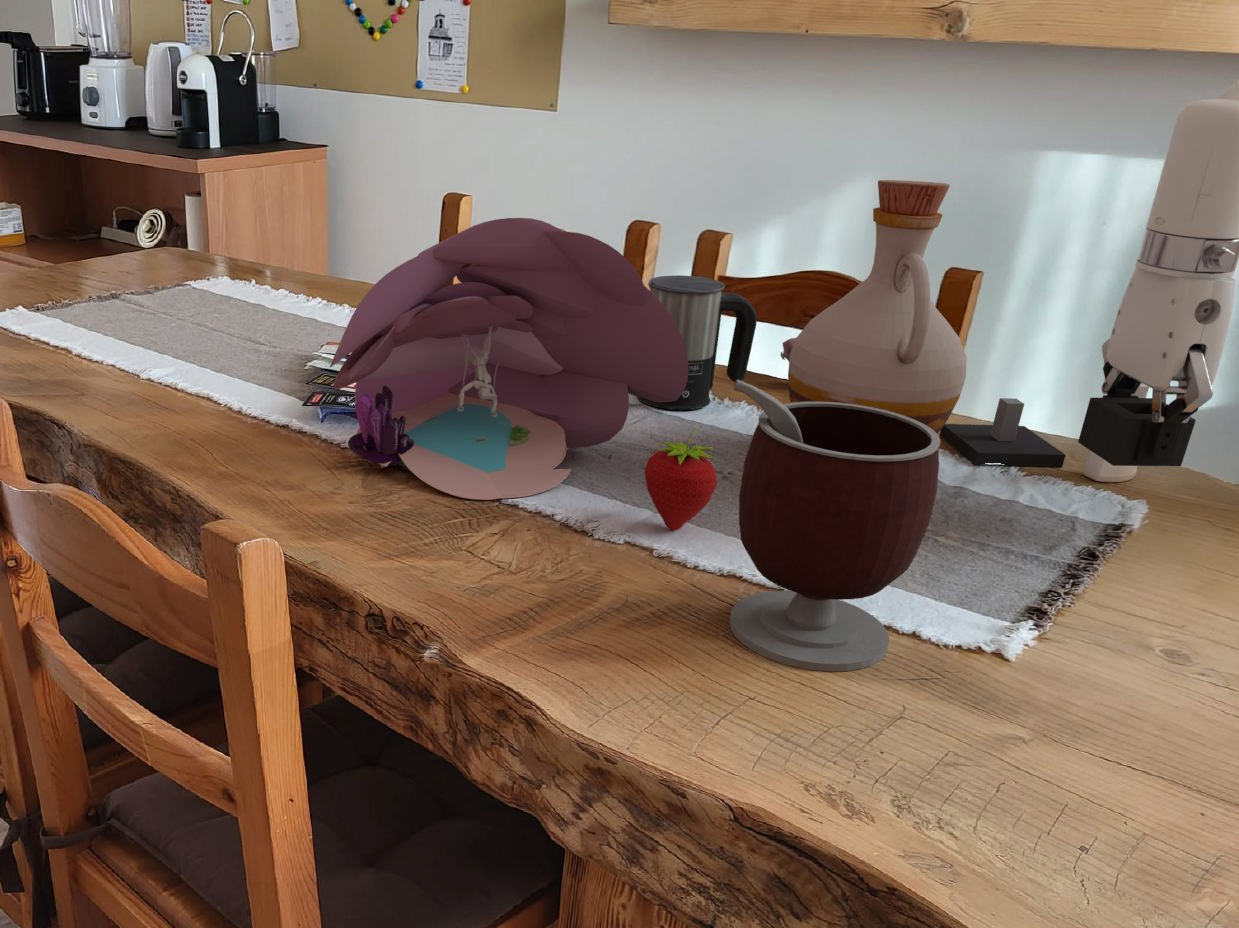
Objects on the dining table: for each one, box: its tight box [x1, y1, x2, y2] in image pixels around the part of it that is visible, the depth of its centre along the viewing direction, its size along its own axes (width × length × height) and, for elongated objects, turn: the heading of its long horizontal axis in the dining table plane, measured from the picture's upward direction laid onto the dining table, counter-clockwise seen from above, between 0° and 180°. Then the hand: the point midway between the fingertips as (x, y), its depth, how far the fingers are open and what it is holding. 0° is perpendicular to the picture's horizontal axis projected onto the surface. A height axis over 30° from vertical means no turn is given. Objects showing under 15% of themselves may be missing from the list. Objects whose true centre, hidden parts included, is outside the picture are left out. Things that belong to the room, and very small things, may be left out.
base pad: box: [939, 397, 1067, 468], centre depth 134 cm, size 10×10×6 cm
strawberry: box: [644, 427, 718, 531], centre depth 109 cm, size 6×8×10 cm
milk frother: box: [636, 274, 758, 411], centre depth 148 cm, size 14×16×15 cm
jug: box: [787, 179, 967, 435], centre depth 121 cm, size 20×18×30 cm
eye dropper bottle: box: [1082, 383, 1150, 483], centre depth 126 cm, size 4×6×12 cm
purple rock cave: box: [329, 217, 688, 501], centre depth 119 cm, size 35×24×28 cm
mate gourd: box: [729, 380, 941, 673], centre depth 89 cm, size 16×14×20 cm
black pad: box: [1077, 397, 1197, 467], centre depth 109 cm, size 6×6×4 cm
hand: (1130, 447), depth 110 cm, fingers closed on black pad, 6 cm apart
